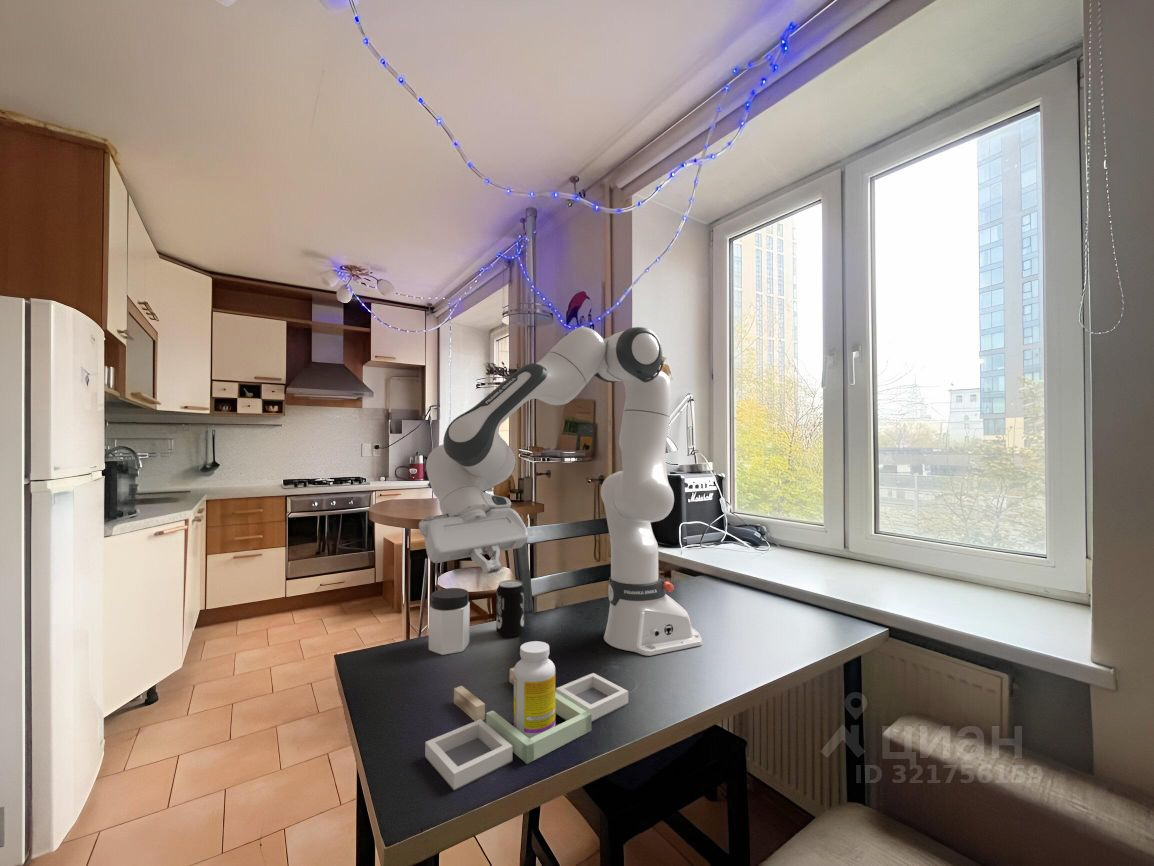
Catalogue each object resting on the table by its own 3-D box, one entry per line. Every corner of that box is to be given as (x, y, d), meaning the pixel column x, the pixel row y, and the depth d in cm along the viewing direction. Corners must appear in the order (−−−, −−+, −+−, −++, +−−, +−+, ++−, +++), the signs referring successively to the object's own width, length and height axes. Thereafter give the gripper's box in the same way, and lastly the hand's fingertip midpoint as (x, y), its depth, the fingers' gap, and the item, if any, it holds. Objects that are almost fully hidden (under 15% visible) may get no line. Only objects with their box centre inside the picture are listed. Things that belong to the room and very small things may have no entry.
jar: (438, 638, 113) (439, 586, 113) (472, 639, 112) (473, 587, 113) (423, 654, 104) (424, 598, 104) (460, 656, 103) (460, 599, 104)
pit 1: (425, 757, 70) (425, 741, 70) (480, 733, 76) (480, 719, 76) (454, 791, 63) (454, 773, 63) (512, 761, 69) (512, 746, 69)
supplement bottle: (564, 727, 77) (564, 646, 78) (533, 746, 72) (533, 659, 73) (535, 712, 82) (536, 635, 82) (504, 728, 77) (505, 646, 77)
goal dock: (486, 728, 77) (486, 712, 77) (548, 702, 85) (548, 687, 85) (526, 763, 68) (527, 745, 68) (591, 730, 76) (591, 714, 76)
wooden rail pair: (453, 702, 84) (454, 688, 85) (516, 679, 93) (516, 666, 93) (476, 722, 78) (476, 707, 79) (541, 695, 87) (541, 681, 87)
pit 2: (555, 700, 85) (555, 688, 85) (593, 684, 91) (593, 672, 91) (590, 722, 78) (590, 709, 79) (628, 703, 84) (628, 691, 84)
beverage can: (518, 639, 112) (519, 587, 113) (492, 637, 114) (492, 586, 114) (527, 629, 119) (527, 580, 119) (501, 627, 120) (502, 578, 120)
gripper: (420, 507, 87) (445, 571, 80) (515, 497, 101) (544, 551, 93) (411, 529, 91) (434, 593, 83) (504, 516, 104) (531, 570, 96)
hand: (493, 571), depth 88 cm, fingers closed
